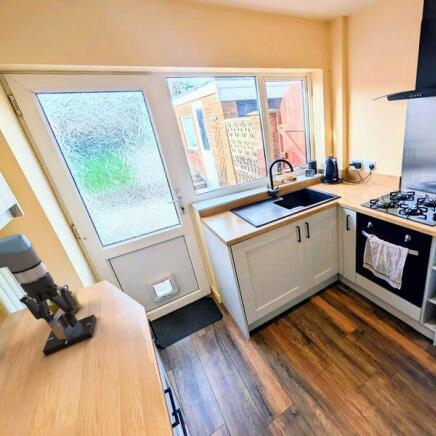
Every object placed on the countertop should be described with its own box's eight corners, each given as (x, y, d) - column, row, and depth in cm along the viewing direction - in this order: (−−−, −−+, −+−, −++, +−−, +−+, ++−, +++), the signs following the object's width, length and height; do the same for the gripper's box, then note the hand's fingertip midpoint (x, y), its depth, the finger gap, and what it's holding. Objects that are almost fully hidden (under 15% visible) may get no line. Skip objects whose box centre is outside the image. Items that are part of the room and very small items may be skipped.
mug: (84, 308, 106) (65, 292, 102) (59, 326, 102) (38, 310, 98) (89, 297, 116) (72, 282, 112) (66, 313, 113) (48, 298, 109)
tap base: (44, 358, 87) (40, 353, 86) (55, 332, 97) (51, 328, 96) (92, 339, 93) (89, 334, 92) (97, 316, 103) (94, 312, 102)
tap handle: (67, 339, 90) (55, 321, 86) (60, 341, 90) (47, 323, 86) (79, 321, 98) (68, 304, 94) (72, 323, 98) (60, 306, 94)
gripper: (69, 264, 89) (97, 312, 98) (10, 277, 85) (45, 326, 94) (57, 276, 82) (89, 327, 92) (-6, 291, 78) (33, 342, 88)
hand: (67, 326), depth 93 cm, fingers open, 4 cm apart
